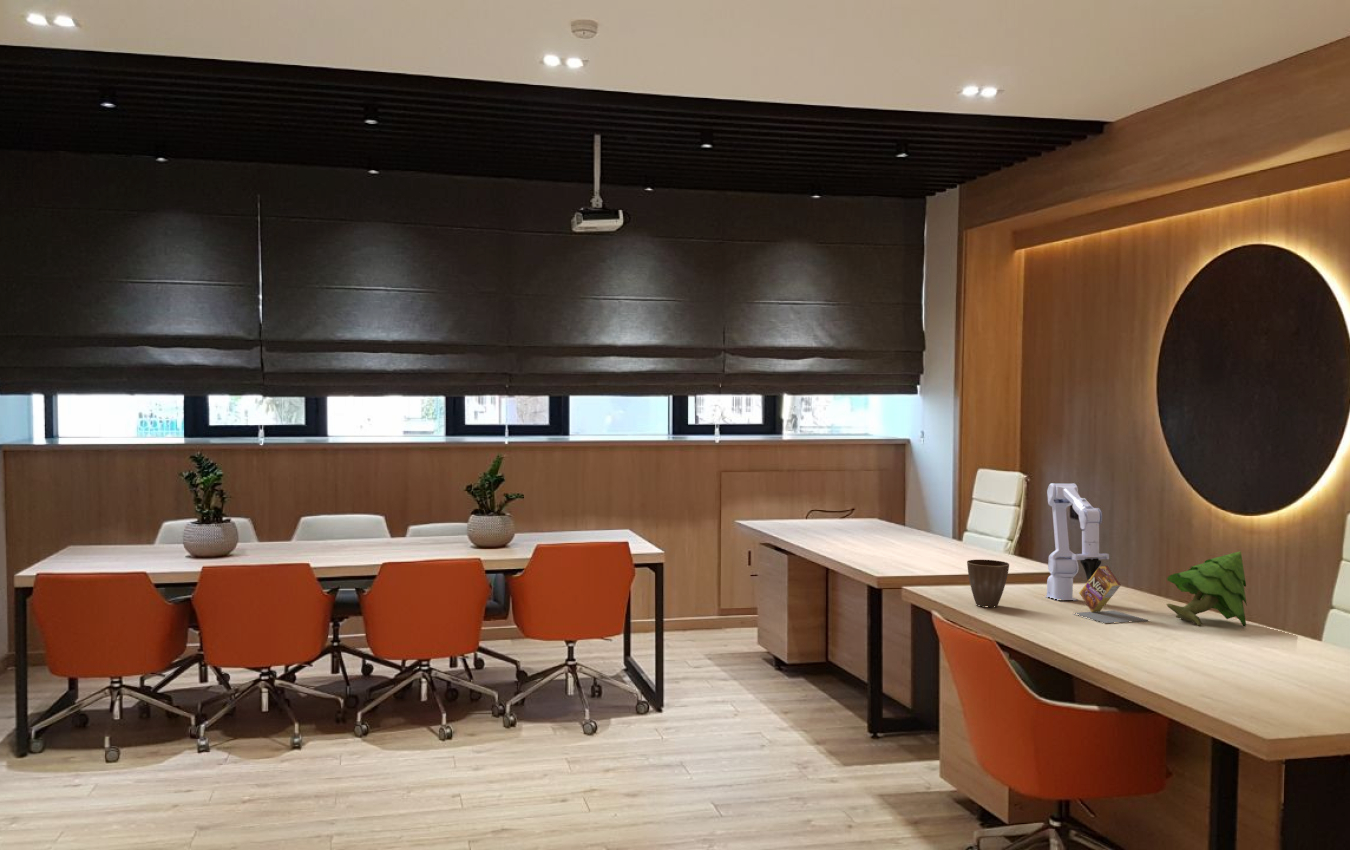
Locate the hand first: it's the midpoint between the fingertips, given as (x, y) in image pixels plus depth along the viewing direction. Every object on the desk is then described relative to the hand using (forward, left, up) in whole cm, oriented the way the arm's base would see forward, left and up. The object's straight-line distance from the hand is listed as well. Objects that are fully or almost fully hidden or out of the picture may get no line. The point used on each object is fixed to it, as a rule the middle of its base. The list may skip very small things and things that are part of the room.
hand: (1090, 580), depth 384 cm
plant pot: (-19, -30, -12) cm, 37 cm away
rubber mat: (+10, 0, -12) cm, 15 cm away
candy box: (-1, 0, -8) cm, 8 cm away
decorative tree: (+27, +25, -12) cm, 39 cm away
